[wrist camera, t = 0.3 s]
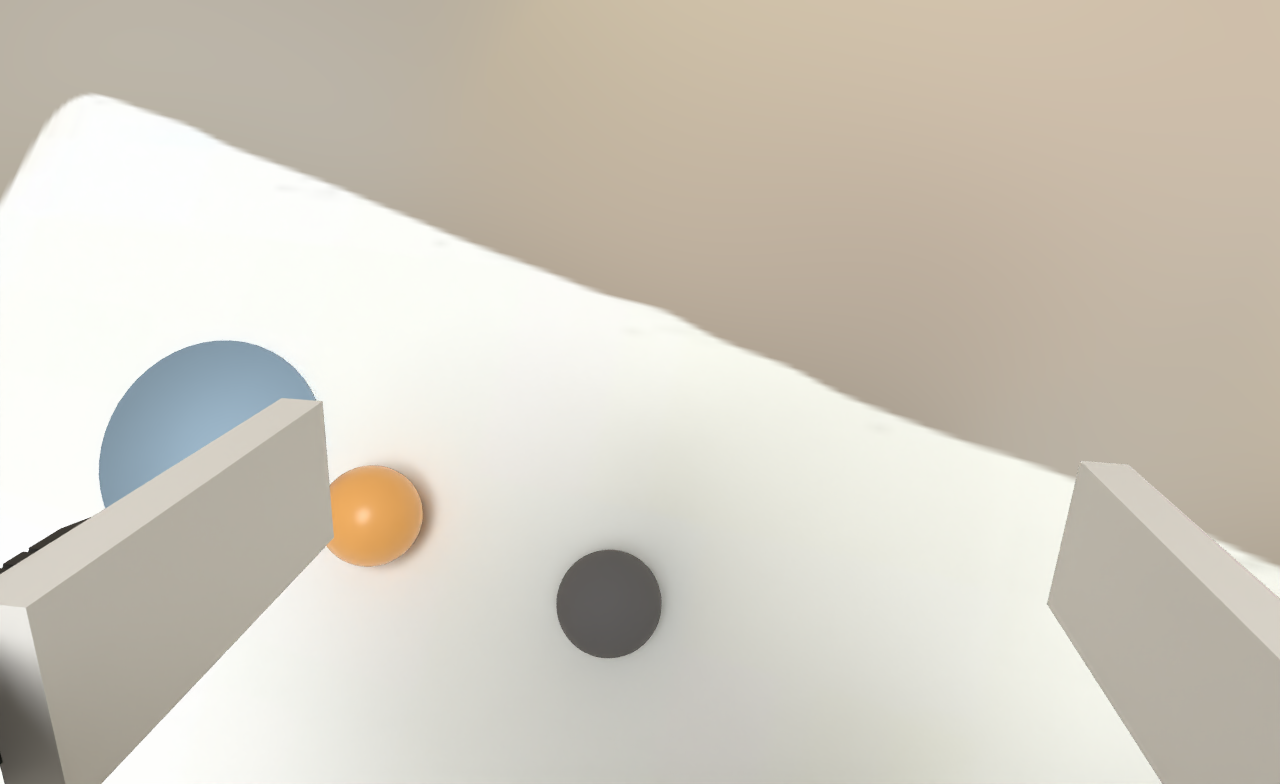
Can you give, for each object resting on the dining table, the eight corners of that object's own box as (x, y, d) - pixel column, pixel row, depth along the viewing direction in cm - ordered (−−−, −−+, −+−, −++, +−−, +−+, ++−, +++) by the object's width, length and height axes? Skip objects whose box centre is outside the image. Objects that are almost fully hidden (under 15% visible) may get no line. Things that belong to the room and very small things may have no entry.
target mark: (359, 381, 50) (358, 380, 50) (265, 605, 48) (263, 606, 48) (162, 313, 52) (160, 312, 52) (62, 525, 50) (60, 525, 50)
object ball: (450, 540, 48) (417, 536, 42) (364, 583, 48) (320, 584, 42) (415, 455, 49) (378, 441, 44) (331, 497, 49) (284, 487, 44)
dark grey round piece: (681, 625, 46) (677, 632, 40) (591, 670, 46) (575, 683, 40) (638, 534, 47) (628, 529, 42) (550, 577, 47) (529, 578, 41)
